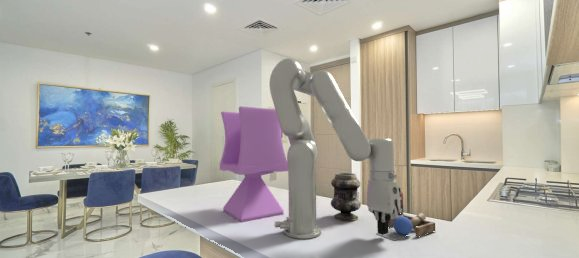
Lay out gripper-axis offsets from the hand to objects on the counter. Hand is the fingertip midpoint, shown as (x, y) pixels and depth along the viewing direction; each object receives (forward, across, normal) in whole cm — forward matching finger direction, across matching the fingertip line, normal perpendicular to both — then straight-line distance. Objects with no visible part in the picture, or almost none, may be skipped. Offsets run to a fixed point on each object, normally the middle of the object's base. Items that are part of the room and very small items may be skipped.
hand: (382, 233), depth 83 cm
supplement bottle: (+2, +16, -29) cm, 33 cm away
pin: (0, 0, -12) cm, 12 cm away
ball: (-2, -2, -8) cm, 8 cm away
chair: (+2, +50, +23) cm, 55 cm away
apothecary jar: (+2, +23, -6) cm, 24 cm away
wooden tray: (+1, 0, -15) cm, 15 cm away
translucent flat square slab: (+2, 0, -5) cm, 5 cm away
